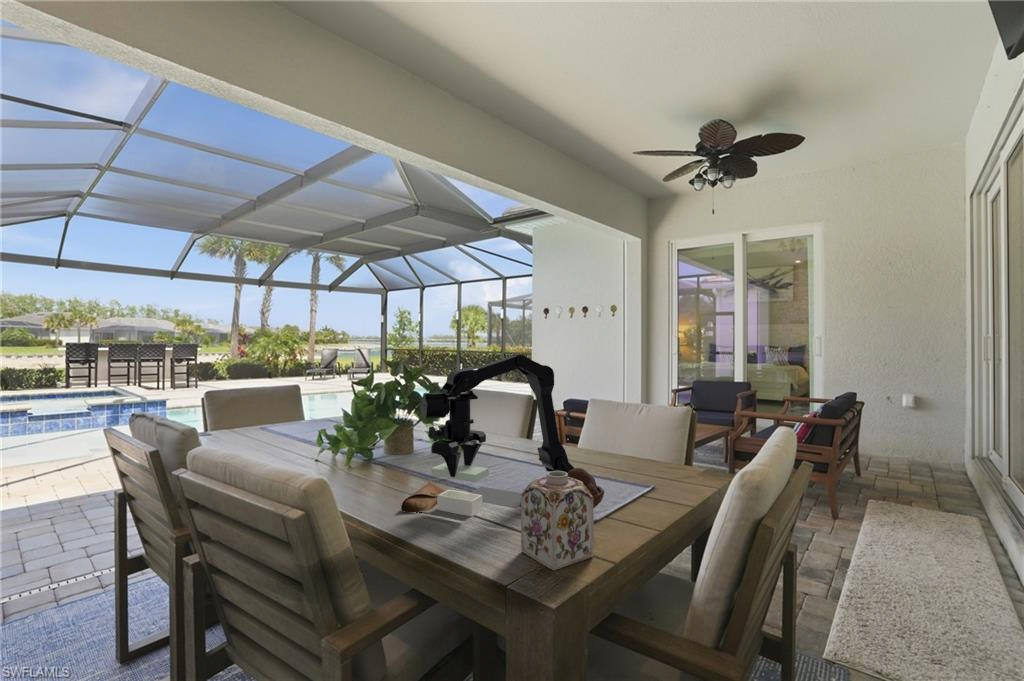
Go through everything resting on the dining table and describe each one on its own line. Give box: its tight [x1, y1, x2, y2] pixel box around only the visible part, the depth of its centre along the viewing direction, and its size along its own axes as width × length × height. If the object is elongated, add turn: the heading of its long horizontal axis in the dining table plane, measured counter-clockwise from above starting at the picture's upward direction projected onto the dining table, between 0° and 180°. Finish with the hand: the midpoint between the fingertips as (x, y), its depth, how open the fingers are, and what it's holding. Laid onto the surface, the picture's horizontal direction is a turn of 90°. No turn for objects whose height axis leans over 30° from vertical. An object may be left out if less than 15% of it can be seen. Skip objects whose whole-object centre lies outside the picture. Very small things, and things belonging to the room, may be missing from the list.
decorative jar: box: [520, 471, 595, 571], centre depth 107 cm, size 12×12×18 cm
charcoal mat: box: [469, 486, 522, 509], centre depth 144 cm, size 18×12×1 cm, turn 63°
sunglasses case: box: [400, 481, 446, 514], centre depth 141 cm, size 18×7×7 cm, turn 167°
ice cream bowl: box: [567, 467, 605, 510], centre depth 122 cm, size 11×11×15 cm
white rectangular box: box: [436, 489, 484, 517], centre depth 133 cm, size 11×6×4 cm, turn 63°
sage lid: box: [430, 461, 489, 483], centre depth 133 cm, size 14×7×2 cm, turn 63°
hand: (460, 473), depth 133 cm, fingers closed on sage lid, 7 cm apart
